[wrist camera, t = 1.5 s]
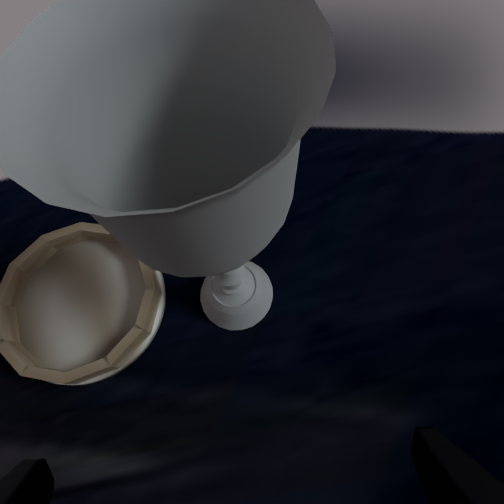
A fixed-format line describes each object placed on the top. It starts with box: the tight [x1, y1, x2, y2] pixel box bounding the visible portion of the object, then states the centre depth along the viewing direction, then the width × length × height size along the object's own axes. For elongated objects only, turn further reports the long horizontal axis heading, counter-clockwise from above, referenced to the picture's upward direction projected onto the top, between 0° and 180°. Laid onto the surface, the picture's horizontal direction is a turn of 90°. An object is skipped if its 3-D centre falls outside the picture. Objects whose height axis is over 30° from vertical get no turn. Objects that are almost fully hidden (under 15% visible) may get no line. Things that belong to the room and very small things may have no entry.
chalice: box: [0, 0, 336, 330], centre depth 15 cm, size 7×7×18 cm
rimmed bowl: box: [0, 222, 166, 385], centre depth 23 cm, size 11×11×2 cm
